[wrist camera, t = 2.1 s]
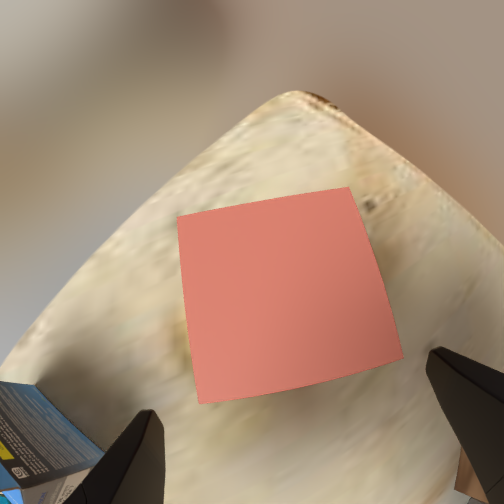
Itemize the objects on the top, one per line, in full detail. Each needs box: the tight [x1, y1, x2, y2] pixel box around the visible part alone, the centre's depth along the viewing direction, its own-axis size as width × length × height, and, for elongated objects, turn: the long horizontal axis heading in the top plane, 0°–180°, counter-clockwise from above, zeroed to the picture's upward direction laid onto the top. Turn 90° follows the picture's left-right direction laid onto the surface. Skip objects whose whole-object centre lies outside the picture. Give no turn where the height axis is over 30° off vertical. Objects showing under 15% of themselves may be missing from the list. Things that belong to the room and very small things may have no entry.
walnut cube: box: [454, 446, 489, 504], centre depth 12 cm, size 5×5×5 cm
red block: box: [177, 187, 404, 404], centre depth 13 cm, size 5×5×12 cm
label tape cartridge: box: [0, 381, 105, 504], centre depth 11 cm, size 9×4×12 cm, turn 62°
